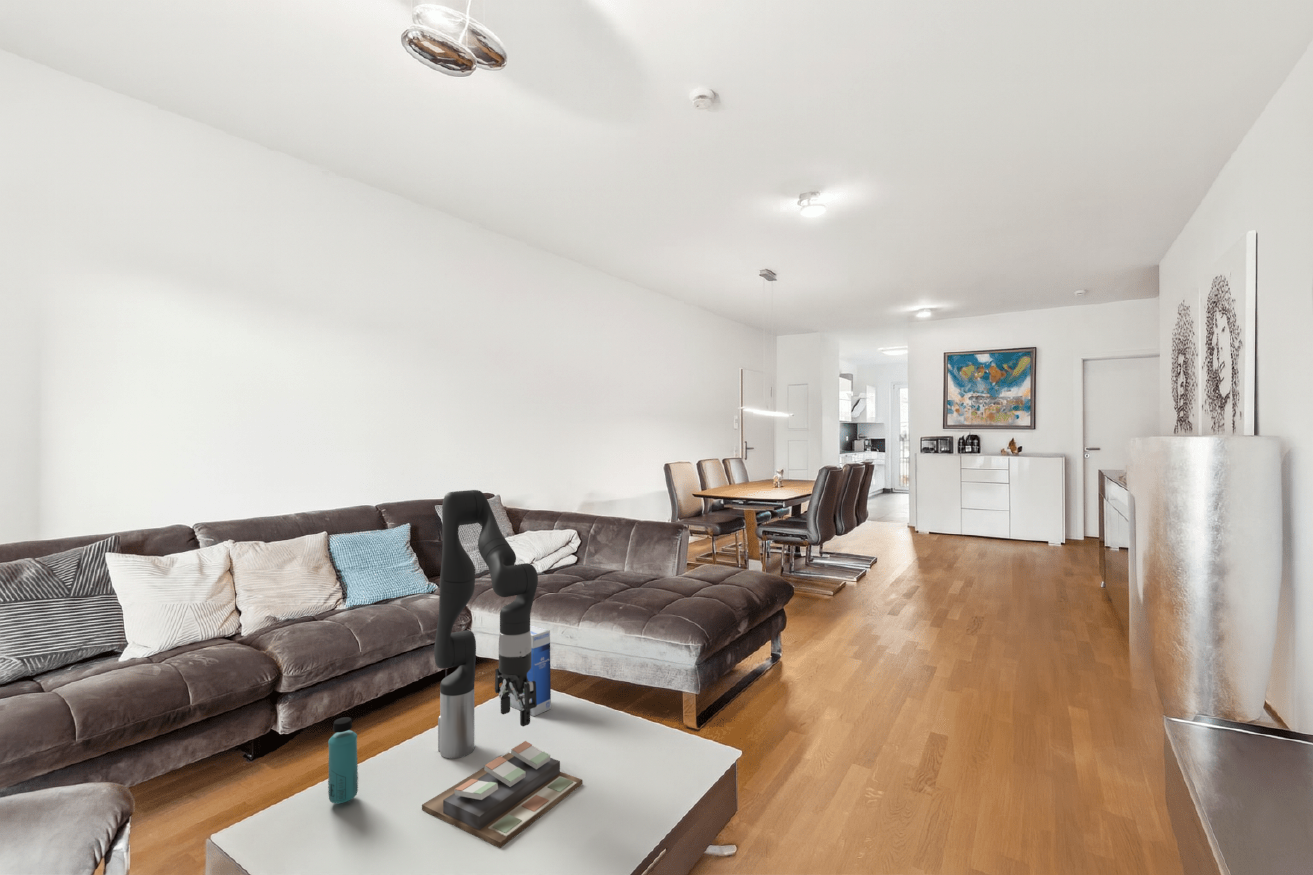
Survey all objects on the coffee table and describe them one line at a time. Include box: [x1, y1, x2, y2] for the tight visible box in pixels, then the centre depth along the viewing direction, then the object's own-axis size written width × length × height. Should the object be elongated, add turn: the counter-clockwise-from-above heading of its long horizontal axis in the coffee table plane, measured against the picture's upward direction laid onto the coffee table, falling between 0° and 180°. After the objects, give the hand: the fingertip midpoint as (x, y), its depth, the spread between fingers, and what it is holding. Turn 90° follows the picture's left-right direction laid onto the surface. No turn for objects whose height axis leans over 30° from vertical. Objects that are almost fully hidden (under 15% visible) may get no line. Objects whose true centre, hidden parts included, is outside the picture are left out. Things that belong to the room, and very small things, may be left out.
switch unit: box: [421, 752, 583, 849], centre depth 146 cm, size 26×28×5 cm
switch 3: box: [510, 740, 551, 769], centre depth 154 cm, size 9×5×1 cm, turn 58°
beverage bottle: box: [327, 716, 359, 804], centre depth 145 cm, size 6×7×20 cm
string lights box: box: [509, 624, 552, 717], centre depth 196 cm, size 13×8×26 cm, turn 51°
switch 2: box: [483, 755, 526, 787], centre depth 146 cm, size 9×5×1 cm, turn 58°
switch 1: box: [455, 779, 498, 800], centre depth 139 cm, size 9×5×1 cm, turn 58°
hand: (515, 718), depth 140 cm, fingers open, 8 cm apart
